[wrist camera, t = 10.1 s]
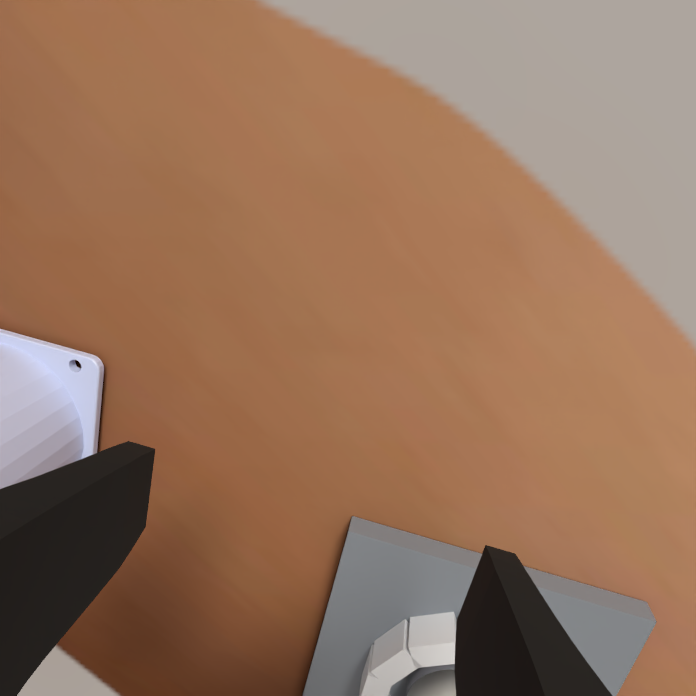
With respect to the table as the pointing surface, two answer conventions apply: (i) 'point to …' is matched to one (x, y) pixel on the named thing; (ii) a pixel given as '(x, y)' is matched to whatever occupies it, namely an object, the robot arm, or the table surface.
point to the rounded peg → (432, 681)
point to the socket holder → (444, 615)
